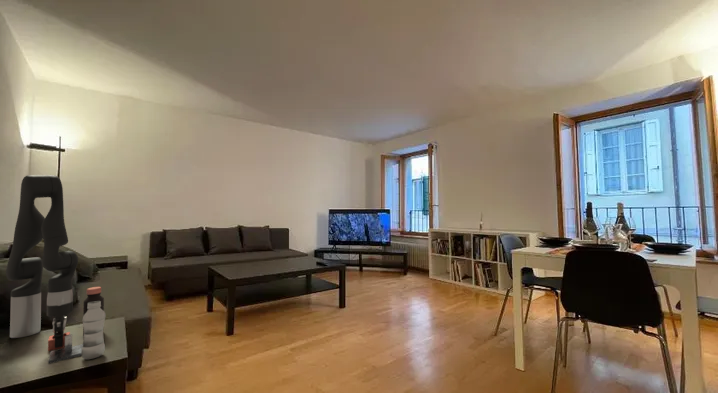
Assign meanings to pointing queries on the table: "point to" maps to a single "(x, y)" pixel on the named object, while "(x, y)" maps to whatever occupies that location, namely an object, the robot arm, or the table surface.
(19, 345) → the table surface
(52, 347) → the link
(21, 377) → the table surface
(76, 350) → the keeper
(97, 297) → the vinegar
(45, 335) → the table surface
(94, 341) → the plastic bottle
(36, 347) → the table surface
